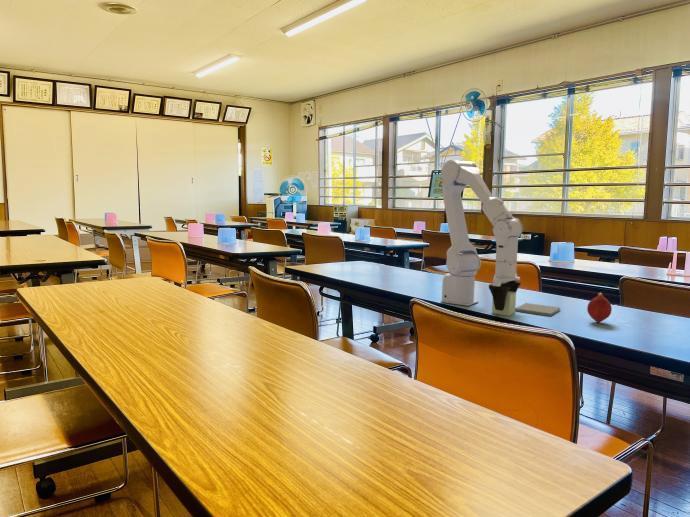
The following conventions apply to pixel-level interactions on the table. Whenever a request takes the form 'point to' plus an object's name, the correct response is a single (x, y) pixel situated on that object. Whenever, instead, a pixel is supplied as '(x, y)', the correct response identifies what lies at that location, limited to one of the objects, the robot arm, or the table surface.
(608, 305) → the onion
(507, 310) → the block
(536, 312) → the coaster
